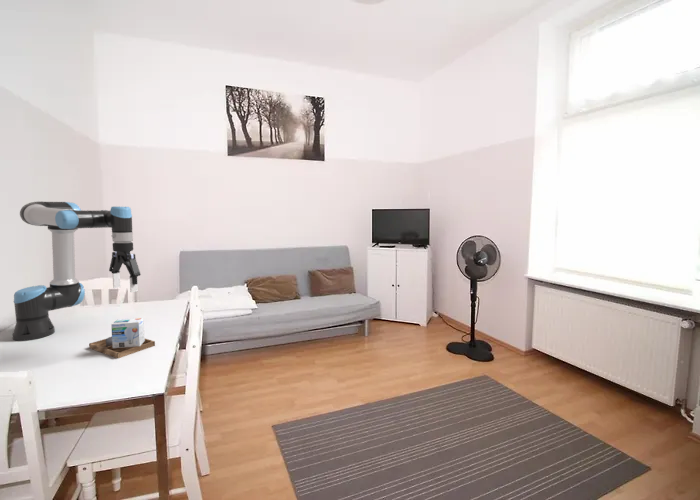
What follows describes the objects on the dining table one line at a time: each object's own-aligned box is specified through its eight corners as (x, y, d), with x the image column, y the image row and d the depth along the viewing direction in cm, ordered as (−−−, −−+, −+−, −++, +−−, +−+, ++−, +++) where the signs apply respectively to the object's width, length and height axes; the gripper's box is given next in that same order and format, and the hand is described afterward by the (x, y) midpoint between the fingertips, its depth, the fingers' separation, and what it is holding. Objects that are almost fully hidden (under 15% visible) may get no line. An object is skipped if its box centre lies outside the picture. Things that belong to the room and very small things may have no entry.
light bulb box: (112, 348, 146) (110, 324, 145) (118, 343, 152) (116, 319, 151) (140, 346, 149) (139, 322, 148) (145, 340, 155) (143, 317, 154)
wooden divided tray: (89, 348, 152) (88, 343, 152) (126, 337, 166) (126, 332, 165) (118, 359, 141) (117, 353, 141) (155, 346, 155) (154, 341, 155)
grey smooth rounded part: (102, 345, 155) (102, 339, 154) (119, 340, 161) (119, 334, 160) (111, 348, 151) (111, 342, 151) (128, 343, 157) (127, 337, 157)
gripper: (98, 240, 154) (101, 287, 157) (130, 244, 142) (132, 295, 145) (116, 239, 161) (118, 284, 163) (148, 243, 149) (150, 291, 151)
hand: (125, 289), depth 154 cm, fingers open, 13 cm apart
